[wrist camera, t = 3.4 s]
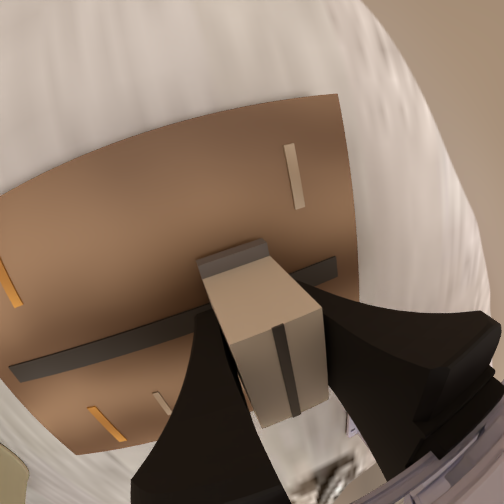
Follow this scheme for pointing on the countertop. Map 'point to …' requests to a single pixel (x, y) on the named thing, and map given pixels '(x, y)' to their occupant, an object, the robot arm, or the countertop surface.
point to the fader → (268, 330)
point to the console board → (159, 257)
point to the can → (12, 478)
